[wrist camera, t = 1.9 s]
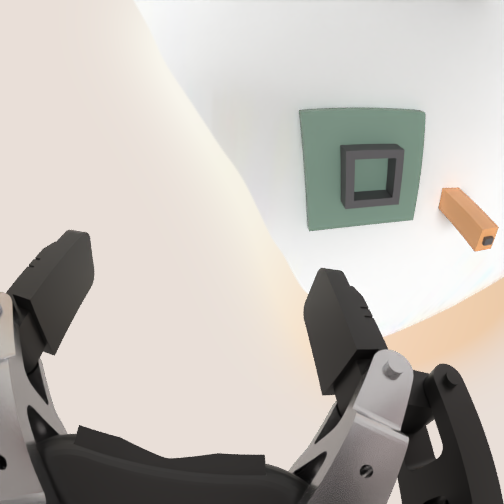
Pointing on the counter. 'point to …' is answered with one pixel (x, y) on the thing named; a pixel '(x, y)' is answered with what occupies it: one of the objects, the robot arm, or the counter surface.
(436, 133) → the counter surface
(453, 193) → the plug
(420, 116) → the board
